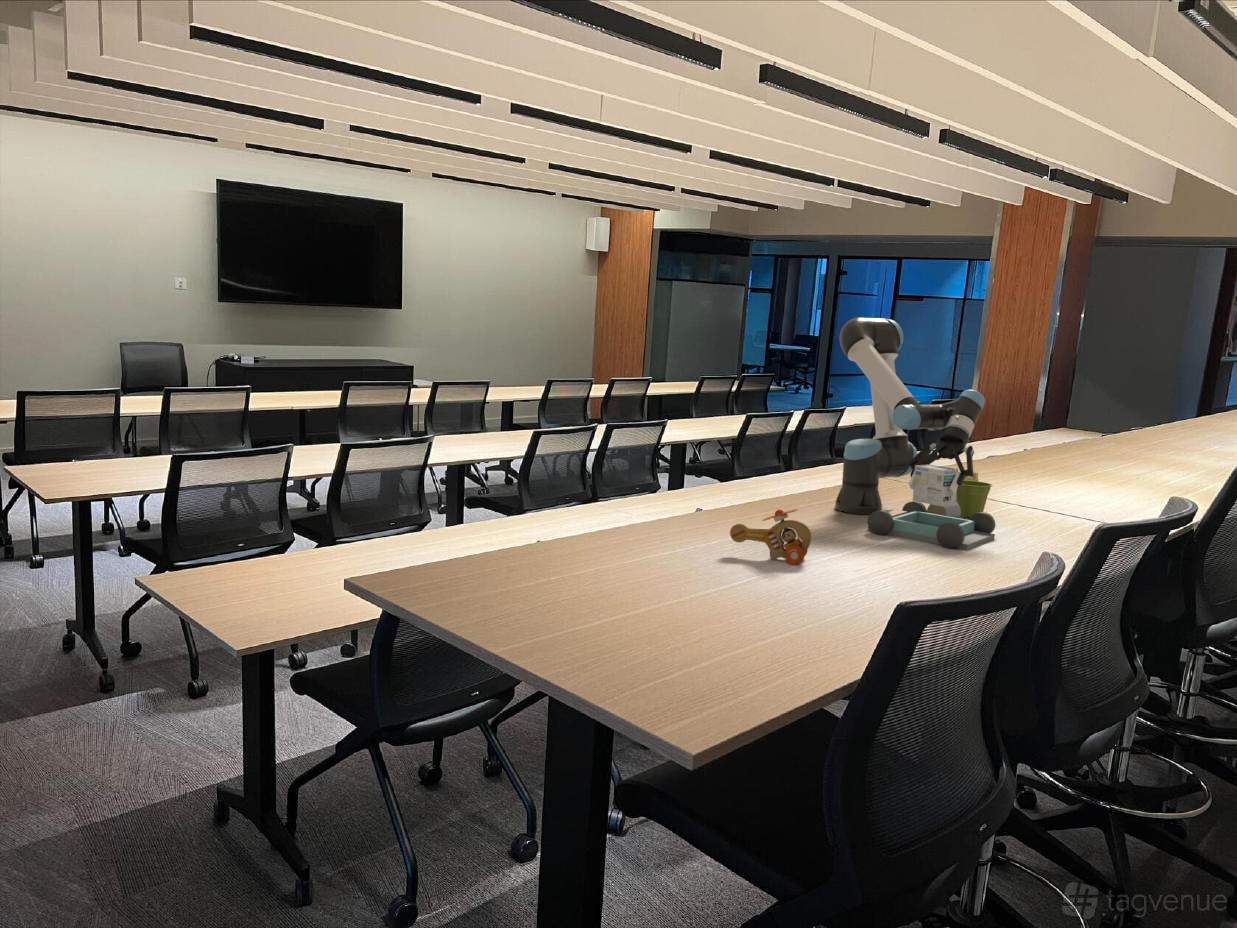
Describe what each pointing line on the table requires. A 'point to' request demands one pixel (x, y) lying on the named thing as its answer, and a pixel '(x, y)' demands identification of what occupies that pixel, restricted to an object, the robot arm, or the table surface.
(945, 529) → the chassis
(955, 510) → the ceramic mug
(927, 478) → the light bulb box
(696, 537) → the table surface
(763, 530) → the toy helicopter
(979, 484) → the plant pot
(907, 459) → the robot arm
